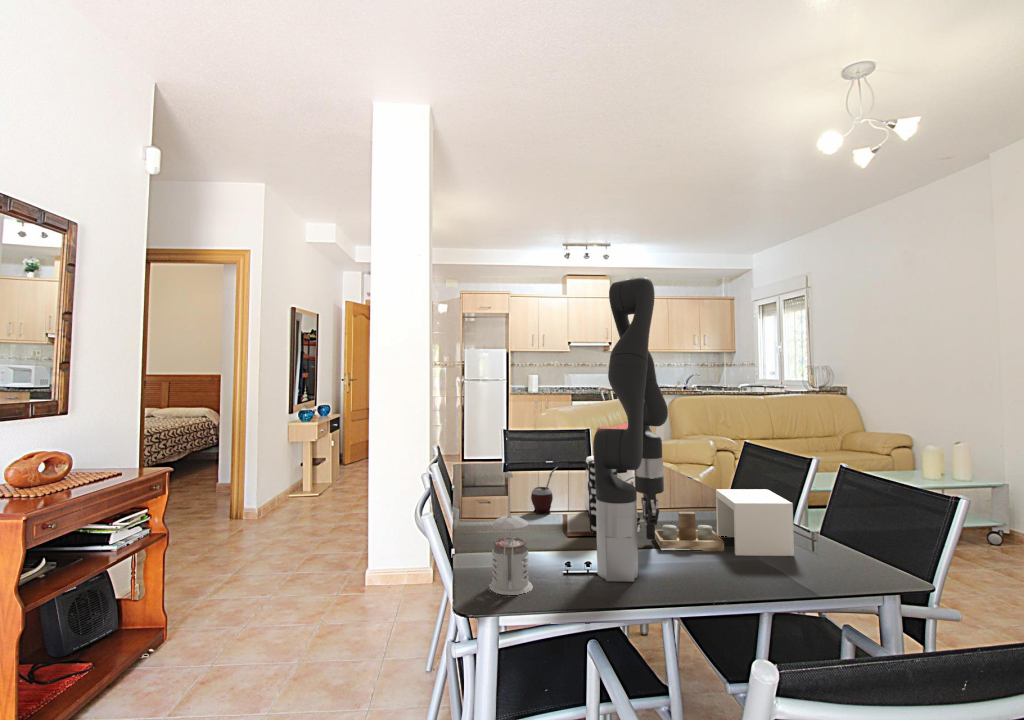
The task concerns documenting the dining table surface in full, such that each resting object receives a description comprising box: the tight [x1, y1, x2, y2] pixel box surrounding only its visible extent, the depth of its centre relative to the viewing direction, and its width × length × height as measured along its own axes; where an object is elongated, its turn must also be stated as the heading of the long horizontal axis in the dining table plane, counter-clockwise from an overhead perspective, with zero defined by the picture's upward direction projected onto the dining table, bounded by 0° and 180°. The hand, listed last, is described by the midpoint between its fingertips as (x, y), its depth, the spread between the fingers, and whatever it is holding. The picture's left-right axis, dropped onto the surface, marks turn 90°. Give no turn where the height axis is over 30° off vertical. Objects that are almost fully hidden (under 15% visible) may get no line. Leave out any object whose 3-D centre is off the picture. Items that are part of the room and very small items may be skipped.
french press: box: [488, 471, 534, 596], centre depth 118 cm, size 10×12×25 cm
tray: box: [654, 511, 725, 552], centre depth 146 cm, size 16×10×8 cm, turn 86°
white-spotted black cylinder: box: [588, 460, 617, 534], centre depth 159 cm, size 8×8×20 cm
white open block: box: [715, 488, 795, 557], centre depth 144 cm, size 16×14×13 cm
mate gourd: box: [530, 466, 559, 516], centre depth 181 cm, size 8×8×15 cm
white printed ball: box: [583, 455, 635, 512], centre depth 179 cm, size 17×17×18 cm
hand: (650, 538), depth 146 cm, fingers closed
